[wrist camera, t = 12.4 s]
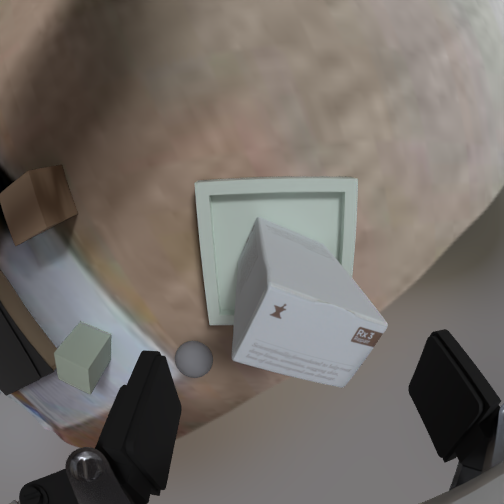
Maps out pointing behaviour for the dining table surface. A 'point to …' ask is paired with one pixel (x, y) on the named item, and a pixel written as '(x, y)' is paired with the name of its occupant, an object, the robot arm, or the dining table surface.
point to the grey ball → (193, 359)
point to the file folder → (21, 343)
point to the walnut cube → (37, 202)
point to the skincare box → (300, 309)
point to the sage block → (83, 357)
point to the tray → (274, 210)
